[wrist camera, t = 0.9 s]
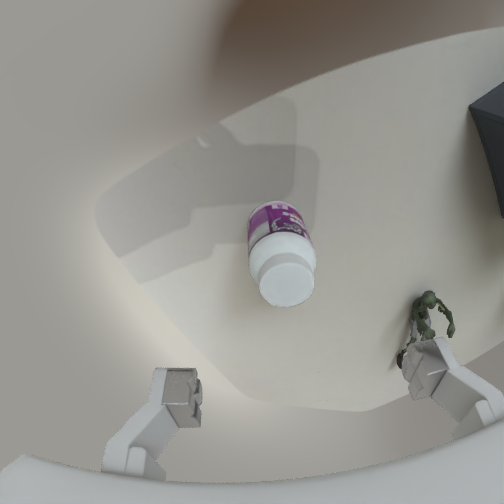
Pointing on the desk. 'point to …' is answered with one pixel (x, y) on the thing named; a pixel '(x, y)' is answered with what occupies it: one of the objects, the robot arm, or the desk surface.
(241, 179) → the desk surface
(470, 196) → the desk surface
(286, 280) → the pill bottle
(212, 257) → the desk surface
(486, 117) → the bin
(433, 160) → the desk surface
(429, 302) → the zombie figurine
